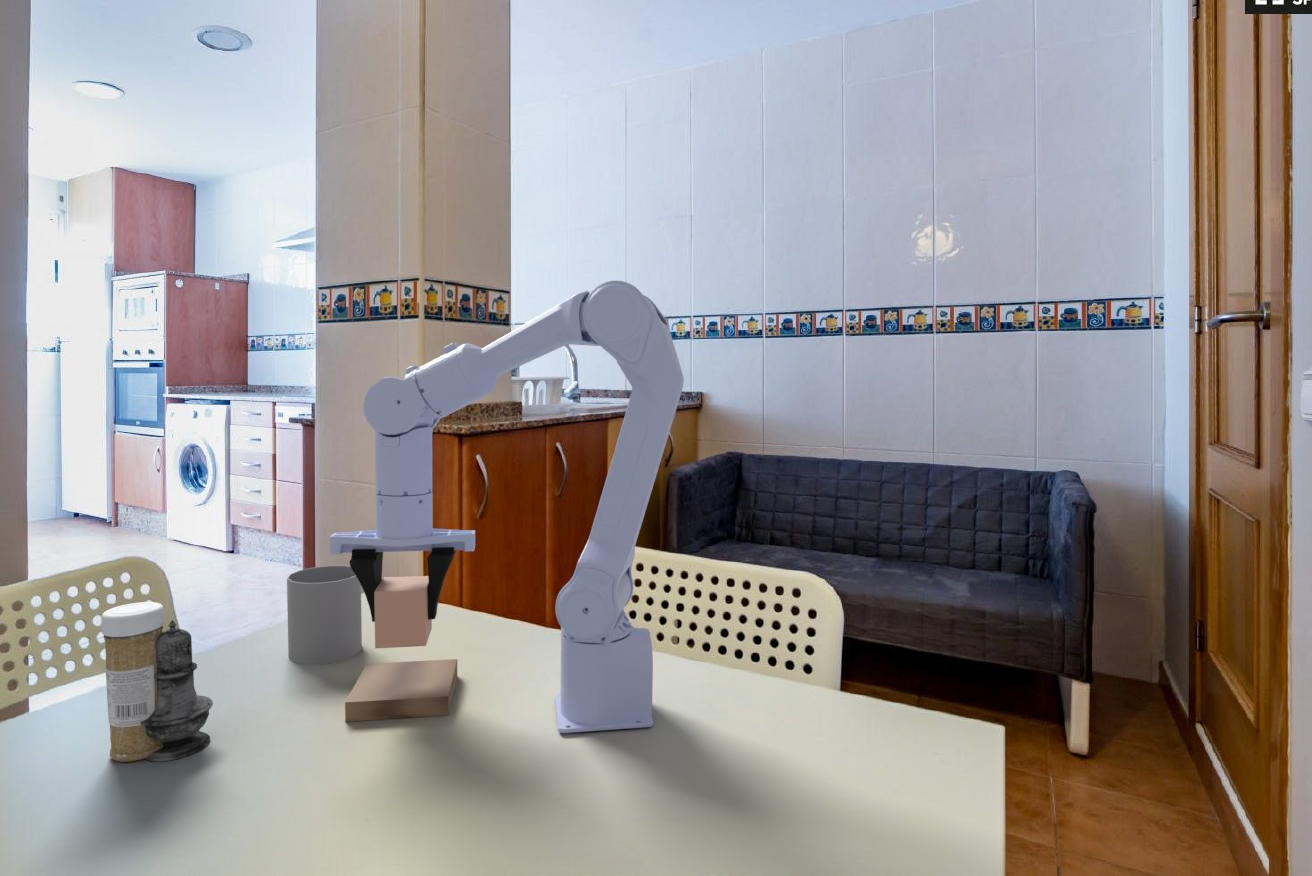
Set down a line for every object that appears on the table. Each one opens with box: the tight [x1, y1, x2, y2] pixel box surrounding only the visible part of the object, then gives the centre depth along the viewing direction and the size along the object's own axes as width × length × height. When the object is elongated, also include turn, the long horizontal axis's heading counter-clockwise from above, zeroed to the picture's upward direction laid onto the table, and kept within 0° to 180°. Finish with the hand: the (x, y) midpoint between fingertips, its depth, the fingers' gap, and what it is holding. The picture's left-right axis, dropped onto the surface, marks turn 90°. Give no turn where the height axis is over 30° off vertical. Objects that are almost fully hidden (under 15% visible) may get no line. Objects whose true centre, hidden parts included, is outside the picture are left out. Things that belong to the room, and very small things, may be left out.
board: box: [344, 658, 458, 723], centre depth 77 cm, size 10×10×2 cm
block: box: [374, 575, 433, 649], centre depth 75 cm, size 5×5×6 cm
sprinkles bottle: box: [100, 601, 166, 763], centre depth 64 cm, size 5×5×14 cm
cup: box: [286, 565, 363, 666], centre depth 89 cm, size 8×8×10 cm
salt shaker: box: [140, 619, 214, 762], centre depth 65 cm, size 6×6×12 cm
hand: (405, 617), depth 76 cm, fingers closed on block, 5 cm apart
